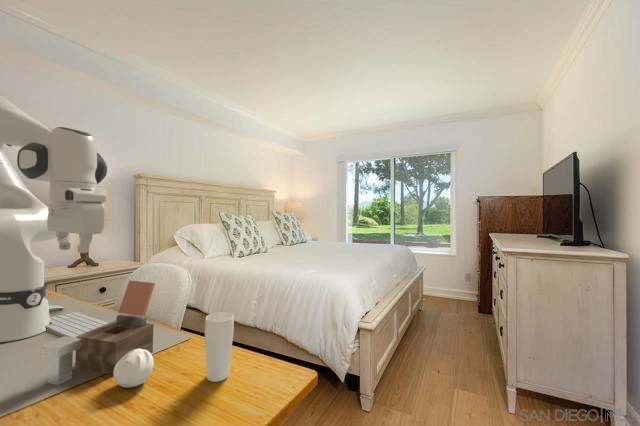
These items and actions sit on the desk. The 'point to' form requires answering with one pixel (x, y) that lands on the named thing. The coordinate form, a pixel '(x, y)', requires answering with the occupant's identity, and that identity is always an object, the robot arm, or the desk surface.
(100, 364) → the block
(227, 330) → the drinking glass
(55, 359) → the steel peg
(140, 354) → the white ridged ball
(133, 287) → the panel
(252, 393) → the desk surface
